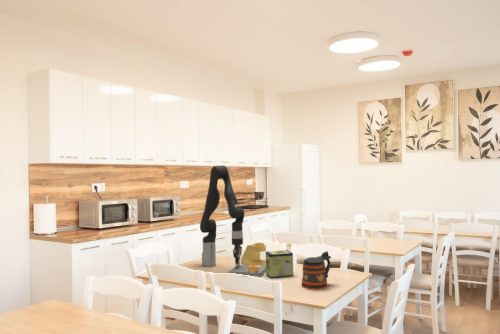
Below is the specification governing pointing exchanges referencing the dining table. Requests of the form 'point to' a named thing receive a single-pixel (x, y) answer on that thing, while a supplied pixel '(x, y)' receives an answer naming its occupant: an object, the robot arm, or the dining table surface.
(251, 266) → the stud finder
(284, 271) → the protein box
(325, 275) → the beer stein
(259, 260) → the tan lumpy shape
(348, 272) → the dining table surface
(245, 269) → the subfloor board
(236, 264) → the awl
